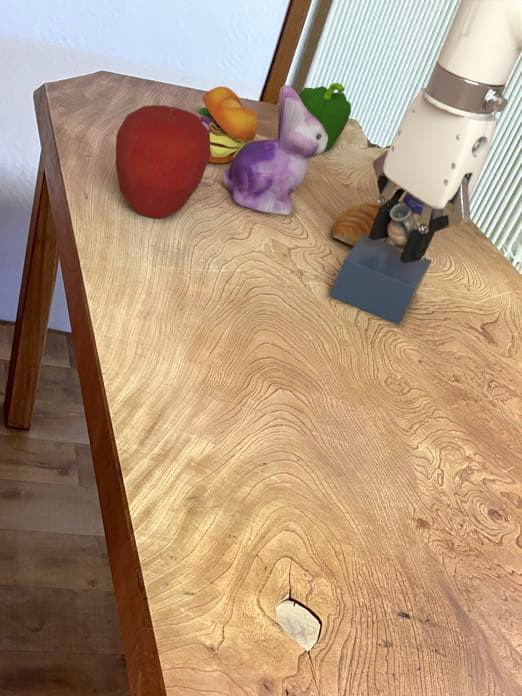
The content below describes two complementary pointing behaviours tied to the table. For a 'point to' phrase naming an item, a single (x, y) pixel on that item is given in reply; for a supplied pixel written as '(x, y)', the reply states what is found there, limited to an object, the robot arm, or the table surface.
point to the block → (379, 279)
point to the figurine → (277, 159)
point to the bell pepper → (328, 109)
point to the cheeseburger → (226, 124)
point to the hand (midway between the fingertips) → (394, 247)
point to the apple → (160, 158)
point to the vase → (401, 226)
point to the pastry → (355, 223)
